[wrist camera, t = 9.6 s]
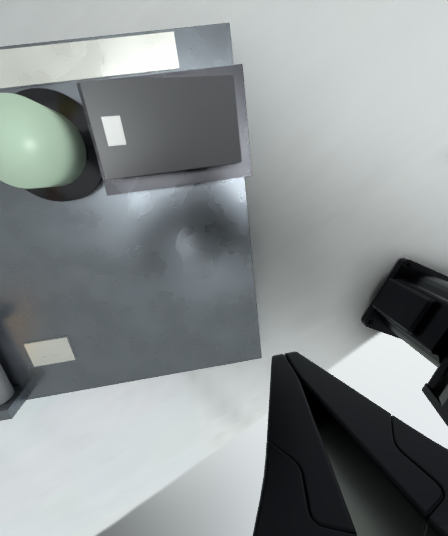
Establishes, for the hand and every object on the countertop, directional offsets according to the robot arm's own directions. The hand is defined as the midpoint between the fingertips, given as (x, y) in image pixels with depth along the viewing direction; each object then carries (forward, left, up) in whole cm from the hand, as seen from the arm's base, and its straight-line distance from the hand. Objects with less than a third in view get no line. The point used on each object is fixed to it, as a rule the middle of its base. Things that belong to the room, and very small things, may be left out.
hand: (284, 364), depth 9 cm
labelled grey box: (+7, -6, -8) cm, 12 cm away
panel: (+9, +2, -12) cm, 15 cm away
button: (+12, -3, -9) cm, 16 cm away
